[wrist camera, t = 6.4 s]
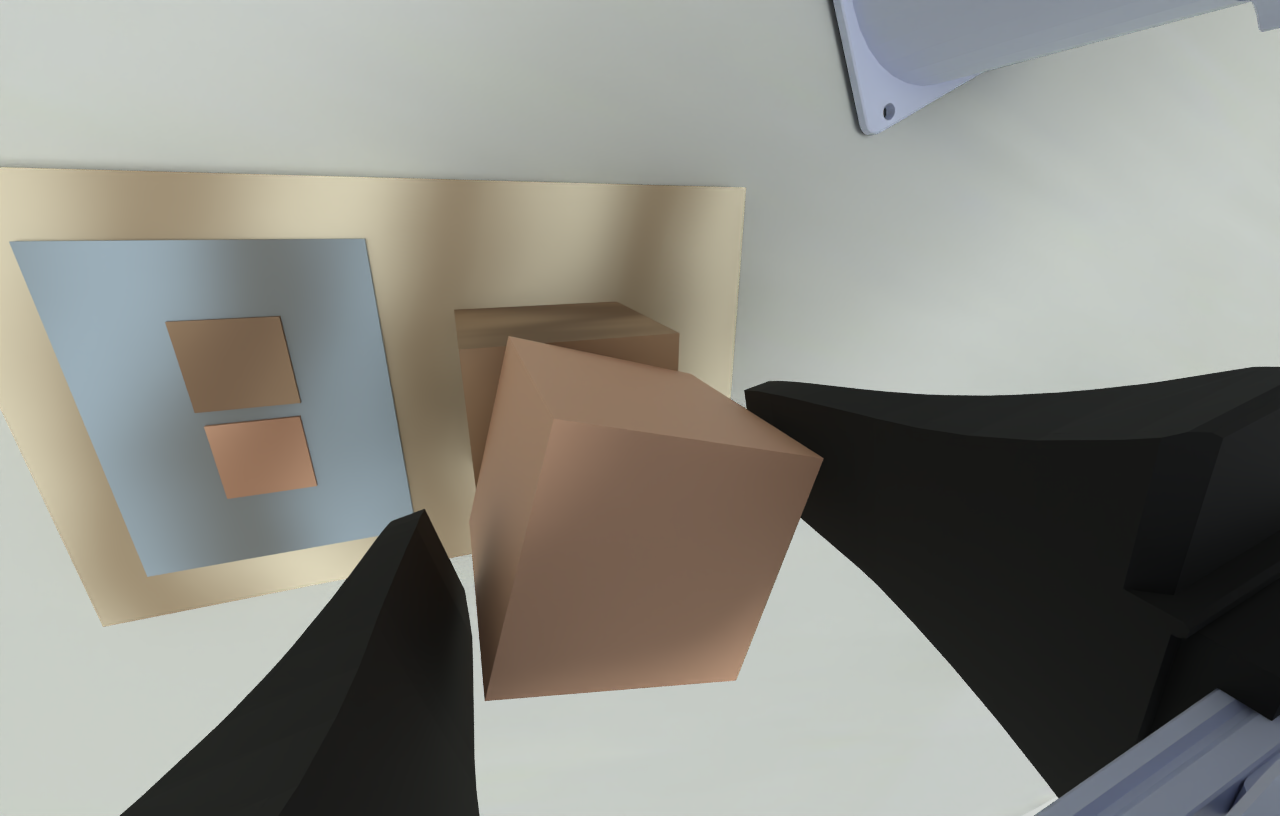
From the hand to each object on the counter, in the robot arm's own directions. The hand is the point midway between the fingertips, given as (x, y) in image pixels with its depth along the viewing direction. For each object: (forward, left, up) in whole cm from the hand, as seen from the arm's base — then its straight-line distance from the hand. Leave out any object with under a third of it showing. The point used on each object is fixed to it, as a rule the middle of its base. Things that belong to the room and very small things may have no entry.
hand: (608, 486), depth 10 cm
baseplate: (+3, -1, -8) cm, 9 cm away
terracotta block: (0, 0, -2) cm, 2 cm away
